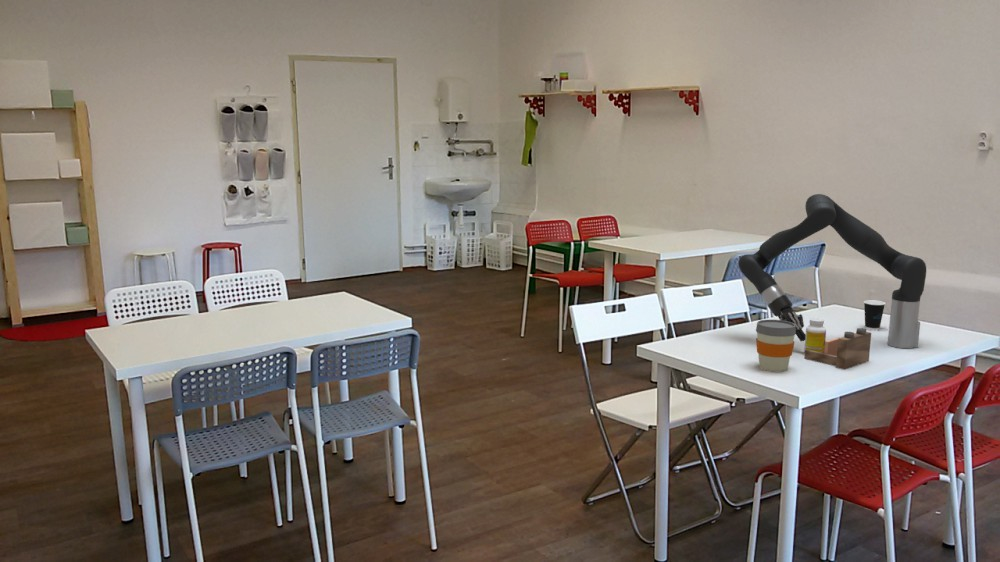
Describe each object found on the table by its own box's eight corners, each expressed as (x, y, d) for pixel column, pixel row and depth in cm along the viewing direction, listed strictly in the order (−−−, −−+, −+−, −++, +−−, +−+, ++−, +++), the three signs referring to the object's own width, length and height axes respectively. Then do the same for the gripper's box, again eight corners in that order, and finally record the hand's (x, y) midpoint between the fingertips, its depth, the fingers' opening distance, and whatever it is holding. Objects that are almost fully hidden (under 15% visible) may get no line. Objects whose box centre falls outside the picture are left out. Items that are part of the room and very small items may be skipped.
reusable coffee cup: (759, 372, 263) (762, 328, 261) (749, 362, 276) (752, 319, 273) (798, 373, 263) (801, 328, 260) (786, 362, 275) (789, 319, 272)
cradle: (801, 359, 279) (804, 326, 277) (826, 351, 289) (829, 319, 287) (844, 369, 267) (847, 335, 265) (868, 361, 277) (871, 328, 275)
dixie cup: (865, 325, 328) (867, 299, 326) (886, 329, 322) (888, 302, 320) (858, 329, 322) (860, 302, 320) (879, 332, 317) (881, 305, 315)
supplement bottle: (825, 358, 280) (828, 322, 278) (805, 357, 282) (808, 321, 279) (822, 353, 287) (825, 317, 284) (802, 352, 288) (805, 317, 286)
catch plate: (823, 358, 277) (825, 341, 276) (837, 354, 282) (838, 337, 281) (827, 359, 276) (828, 342, 275) (840, 354, 281) (842, 338, 280)
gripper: (780, 303, 300) (807, 342, 293) (758, 308, 292) (786, 348, 285) (794, 292, 295) (822, 331, 288) (772, 296, 287) (801, 337, 280)
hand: (804, 339), depth 286 cm, fingers closed
